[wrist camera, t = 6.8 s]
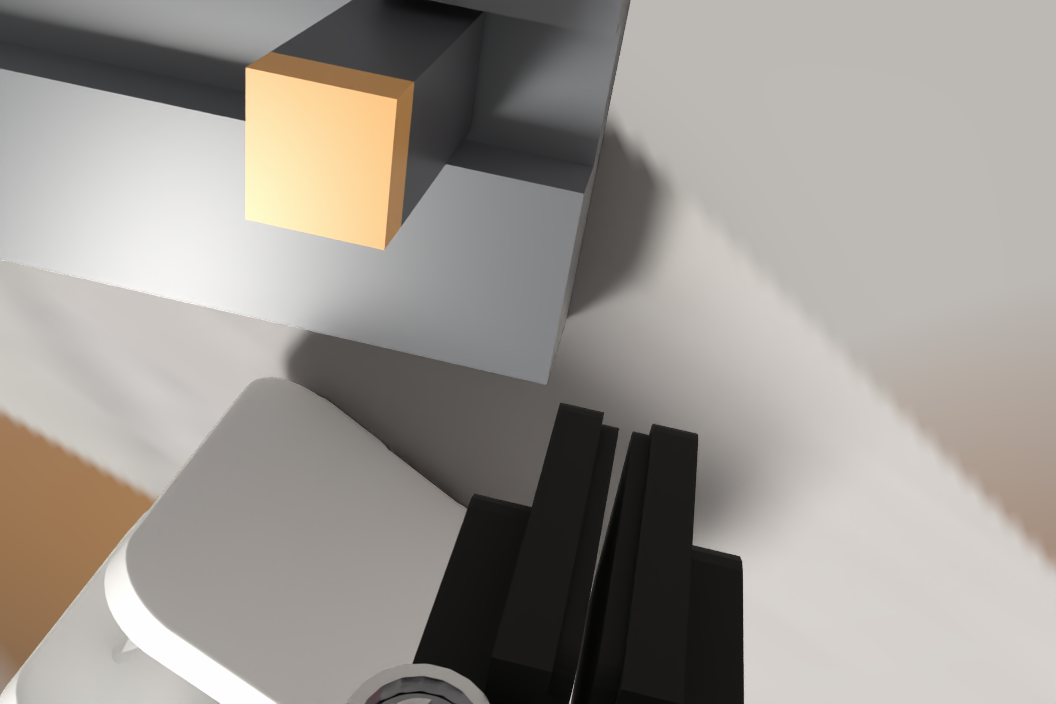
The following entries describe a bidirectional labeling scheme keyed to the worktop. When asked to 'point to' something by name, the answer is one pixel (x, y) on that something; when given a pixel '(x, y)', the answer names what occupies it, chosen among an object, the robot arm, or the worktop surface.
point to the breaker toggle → (359, 117)
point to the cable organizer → (258, 570)
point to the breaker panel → (283, 254)
